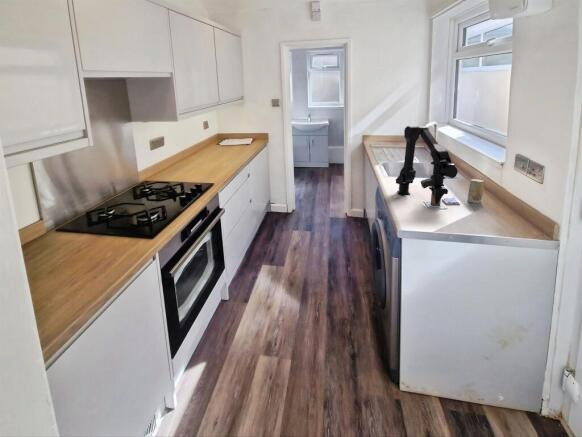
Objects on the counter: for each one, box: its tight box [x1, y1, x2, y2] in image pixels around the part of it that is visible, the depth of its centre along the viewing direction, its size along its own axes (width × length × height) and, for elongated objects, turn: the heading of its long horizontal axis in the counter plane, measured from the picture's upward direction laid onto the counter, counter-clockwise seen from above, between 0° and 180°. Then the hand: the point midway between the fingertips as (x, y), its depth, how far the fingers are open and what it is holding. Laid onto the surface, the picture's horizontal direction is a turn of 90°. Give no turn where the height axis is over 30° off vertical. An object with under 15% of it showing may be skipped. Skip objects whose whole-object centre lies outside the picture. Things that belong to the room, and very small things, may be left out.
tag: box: [423, 201, 448, 210], centre depth 223 cm, size 12×9×1 cm
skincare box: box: [467, 178, 485, 204], centre depth 226 cm, size 6×4×12 cm
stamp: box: [430, 192, 442, 206], centre depth 222 cm, size 4×4×6 cm
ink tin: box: [441, 197, 461, 206], centre depth 228 cm, size 9×7×1 cm
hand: (435, 202), depth 223 cm, fingers closed on stamp, 4 cm apart
